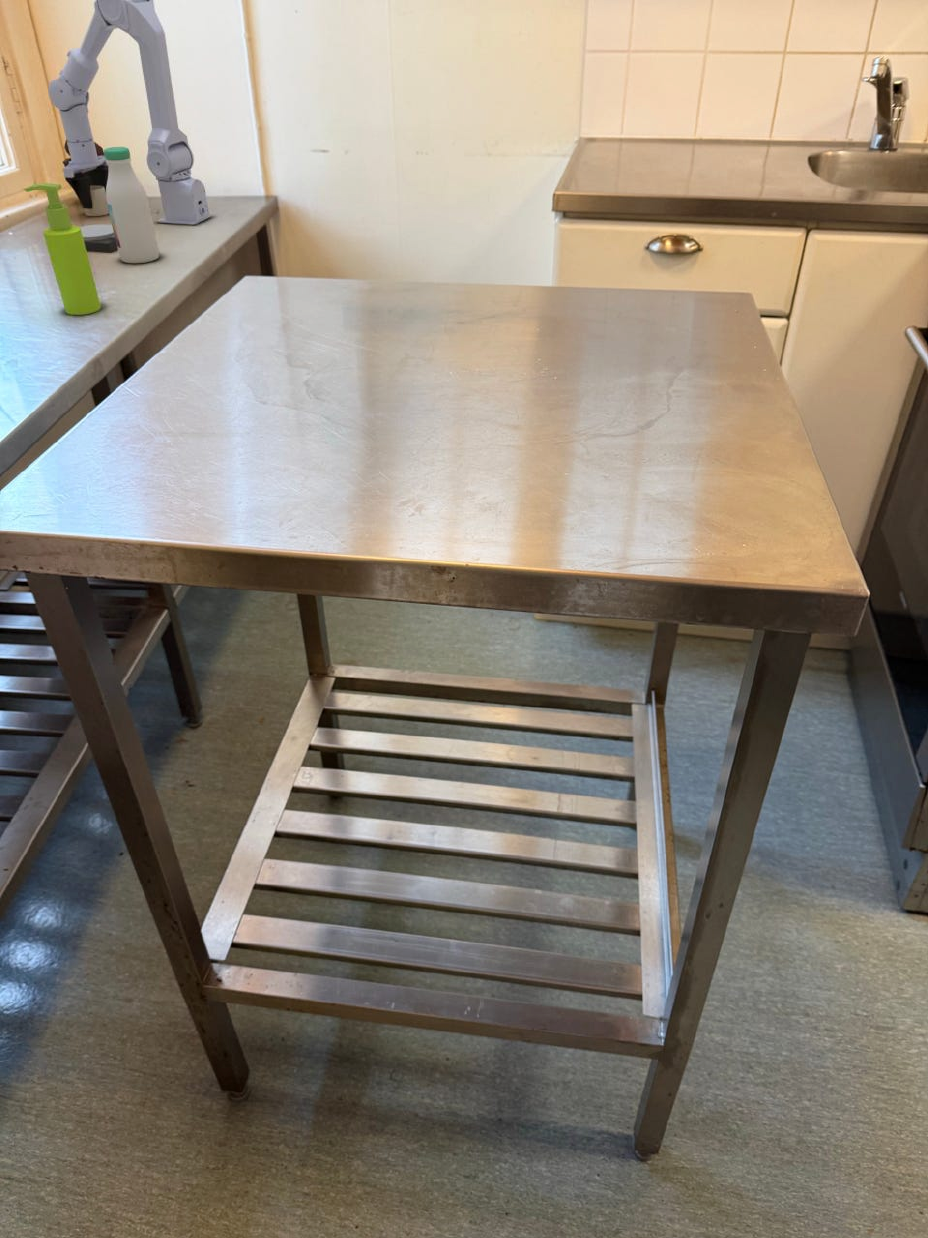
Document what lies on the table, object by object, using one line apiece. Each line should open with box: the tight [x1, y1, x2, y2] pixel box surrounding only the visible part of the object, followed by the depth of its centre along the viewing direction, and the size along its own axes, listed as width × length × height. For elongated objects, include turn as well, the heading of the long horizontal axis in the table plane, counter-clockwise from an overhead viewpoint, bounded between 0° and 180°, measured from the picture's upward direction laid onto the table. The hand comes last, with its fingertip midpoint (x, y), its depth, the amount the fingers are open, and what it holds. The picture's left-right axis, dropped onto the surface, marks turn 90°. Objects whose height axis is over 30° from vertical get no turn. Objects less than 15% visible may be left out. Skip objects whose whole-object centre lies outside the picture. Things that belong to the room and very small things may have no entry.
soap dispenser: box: [24, 182, 102, 316], centre depth 150 cm, size 6×7×20 cm
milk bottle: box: [103, 146, 160, 264], centre depth 174 cm, size 8×8×20 cm
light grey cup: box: [83, 185, 110, 217], centre depth 209 cm, size 6×6×6 cm
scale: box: [79, 224, 118, 254], centre depth 189 cm, size 13×11×3 cm
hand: (95, 204), depth 210 cm, fingers closed on light grey cup, 5 cm apart
